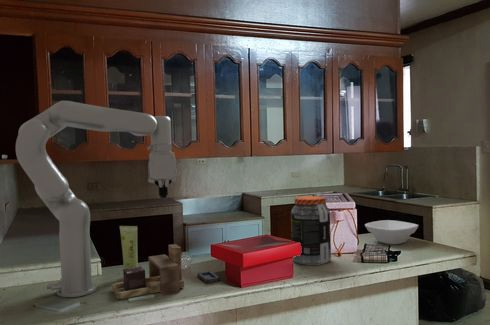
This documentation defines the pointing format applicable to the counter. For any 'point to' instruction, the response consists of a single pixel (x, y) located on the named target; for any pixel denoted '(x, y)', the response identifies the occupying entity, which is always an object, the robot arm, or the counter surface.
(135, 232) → the tube
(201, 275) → the pit tray
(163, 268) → the tunnel
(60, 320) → the counter surface
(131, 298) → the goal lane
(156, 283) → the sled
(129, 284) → the box
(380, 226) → the bowl
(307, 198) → the supplement tub
